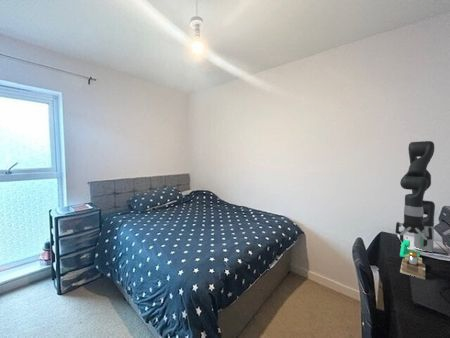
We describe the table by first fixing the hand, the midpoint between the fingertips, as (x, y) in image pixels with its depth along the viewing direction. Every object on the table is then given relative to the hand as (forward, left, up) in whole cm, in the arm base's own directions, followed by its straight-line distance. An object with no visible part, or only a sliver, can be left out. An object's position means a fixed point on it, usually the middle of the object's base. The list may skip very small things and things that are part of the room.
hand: (413, 243), depth 107 cm
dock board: (-5, 0, -16) cm, 17 cm away
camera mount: (-23, -2, -16) cm, 28 cm away
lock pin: (0, 0, -15) cm, 15 cm away
